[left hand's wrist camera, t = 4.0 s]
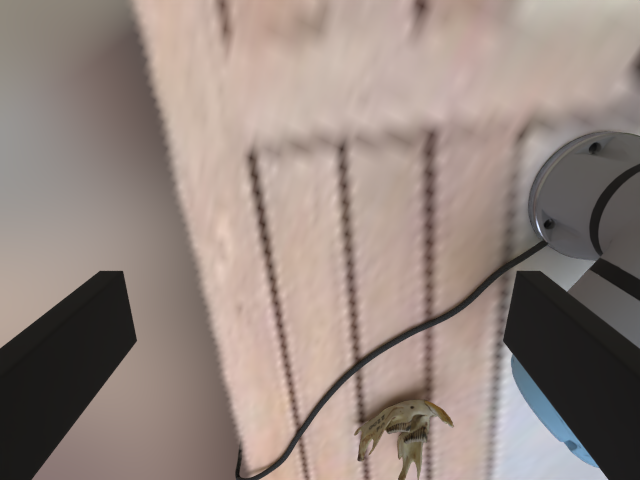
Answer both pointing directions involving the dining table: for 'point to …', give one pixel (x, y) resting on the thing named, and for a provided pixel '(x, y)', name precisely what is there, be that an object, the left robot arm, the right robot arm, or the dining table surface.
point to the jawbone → (403, 430)
